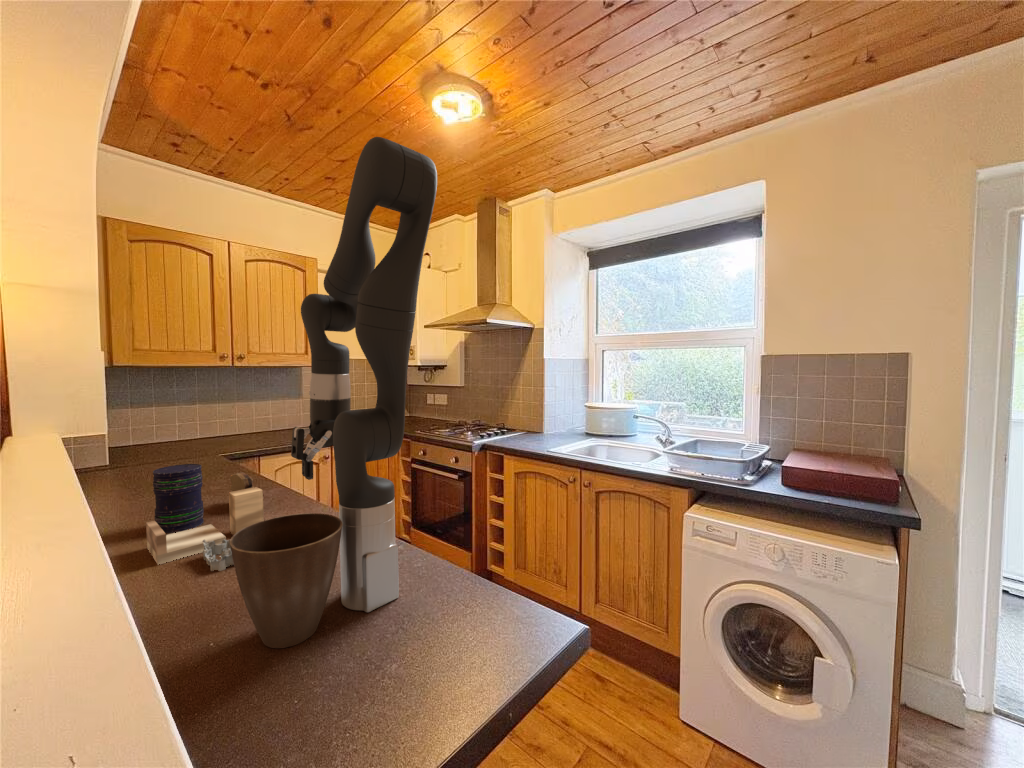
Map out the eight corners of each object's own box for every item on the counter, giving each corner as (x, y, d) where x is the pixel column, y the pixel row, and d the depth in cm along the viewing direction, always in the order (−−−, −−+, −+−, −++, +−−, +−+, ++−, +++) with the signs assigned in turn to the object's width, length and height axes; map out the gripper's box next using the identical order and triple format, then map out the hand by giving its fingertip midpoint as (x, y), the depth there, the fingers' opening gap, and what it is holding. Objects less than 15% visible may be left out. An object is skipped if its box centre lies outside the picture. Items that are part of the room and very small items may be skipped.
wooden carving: (269, 509, 119) (267, 474, 118) (252, 514, 115) (250, 478, 114) (240, 499, 127) (239, 467, 127) (223, 503, 123) (222, 470, 123)
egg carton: (201, 558, 89) (200, 539, 89) (242, 547, 94) (241, 529, 94) (208, 575, 81) (207, 555, 81) (252, 563, 86) (252, 543, 86)
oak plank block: (263, 529, 104) (262, 490, 103) (236, 537, 99) (234, 496, 99) (257, 525, 107) (256, 486, 106) (230, 532, 102) (228, 492, 102)
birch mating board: (226, 545, 94) (225, 519, 94) (157, 565, 85) (156, 536, 85) (211, 532, 102) (210, 508, 102) (147, 548, 93) (145, 522, 93)
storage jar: (183, 533, 101) (180, 473, 101) (143, 533, 101) (141, 473, 101) (213, 518, 111) (211, 463, 111) (177, 518, 111) (175, 463, 111)
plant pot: (317, 594, 74) (315, 506, 73) (363, 627, 65) (360, 526, 64) (218, 637, 62) (214, 532, 62) (256, 685, 53) (252, 562, 52)
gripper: (302, 400, 76) (302, 486, 77) (372, 395, 86) (371, 471, 88) (285, 396, 80) (285, 477, 82) (354, 392, 91) (353, 464, 93)
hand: (330, 474), depth 85 cm, fingers open, 8 cm apart
